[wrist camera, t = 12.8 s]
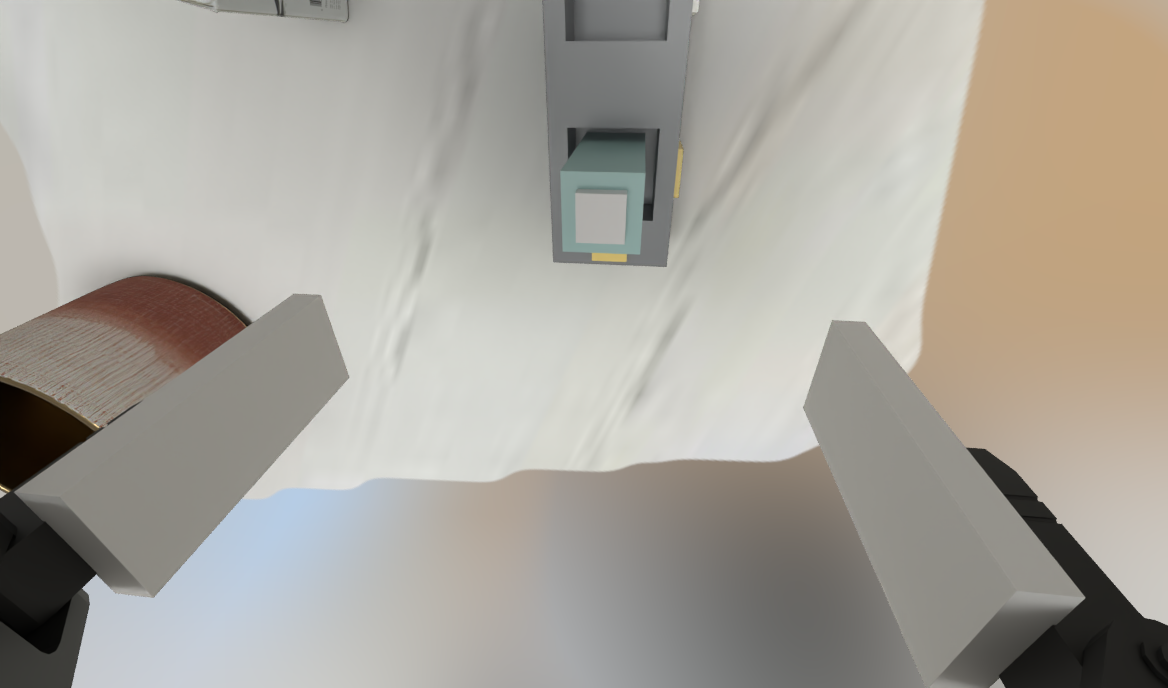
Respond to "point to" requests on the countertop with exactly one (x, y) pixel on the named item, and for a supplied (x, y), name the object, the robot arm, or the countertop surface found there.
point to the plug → (604, 194)
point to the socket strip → (618, 101)
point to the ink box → (280, 8)
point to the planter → (97, 364)
